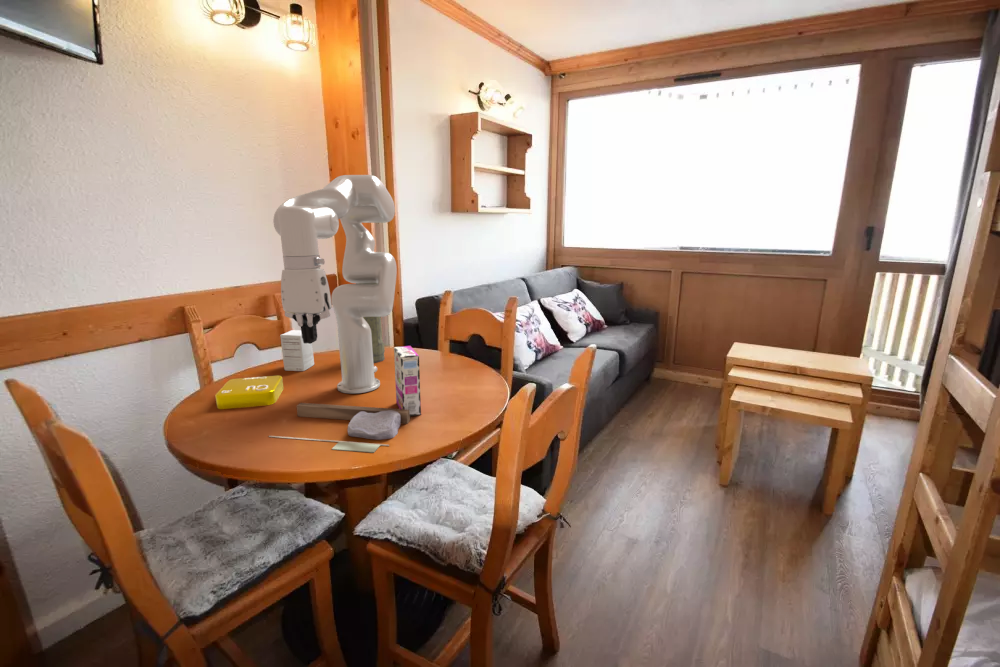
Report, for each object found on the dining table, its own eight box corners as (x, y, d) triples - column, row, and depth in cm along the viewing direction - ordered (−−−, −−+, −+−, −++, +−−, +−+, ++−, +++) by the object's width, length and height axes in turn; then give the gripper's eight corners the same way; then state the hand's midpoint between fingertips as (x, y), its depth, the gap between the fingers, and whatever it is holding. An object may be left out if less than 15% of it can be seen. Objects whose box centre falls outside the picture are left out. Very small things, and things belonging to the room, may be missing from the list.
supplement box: (295, 364, 170) (291, 329, 167) (315, 365, 169) (311, 330, 166) (283, 370, 162) (279, 334, 159) (303, 371, 161) (300, 335, 158)
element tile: (285, 387, 147) (283, 373, 146) (274, 406, 133) (272, 389, 132) (231, 392, 144) (229, 377, 143) (215, 411, 130) (212, 394, 128)
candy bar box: (422, 415, 126) (419, 355, 122) (403, 417, 124) (400, 357, 120) (413, 400, 136) (410, 344, 132) (395, 402, 134) (392, 346, 130)
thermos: (381, 354, 182) (375, 261, 173) (387, 362, 171) (381, 264, 163) (357, 356, 178) (350, 262, 170) (362, 365, 168) (355, 265, 159)
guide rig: (301, 413, 127) (300, 402, 126) (409, 420, 122) (409, 409, 121) (259, 443, 110) (257, 431, 109) (382, 453, 105) (381, 441, 104)
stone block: (395, 447, 112) (403, 421, 121) (392, 430, 110) (400, 406, 119) (345, 448, 113) (356, 423, 122) (341, 432, 110) (353, 407, 120)
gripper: (340, 262, 110) (347, 339, 114) (281, 261, 112) (290, 336, 117) (324, 265, 103) (332, 347, 107) (261, 264, 105) (271, 345, 110)
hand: (310, 341), depth 112 cm, fingers closed
